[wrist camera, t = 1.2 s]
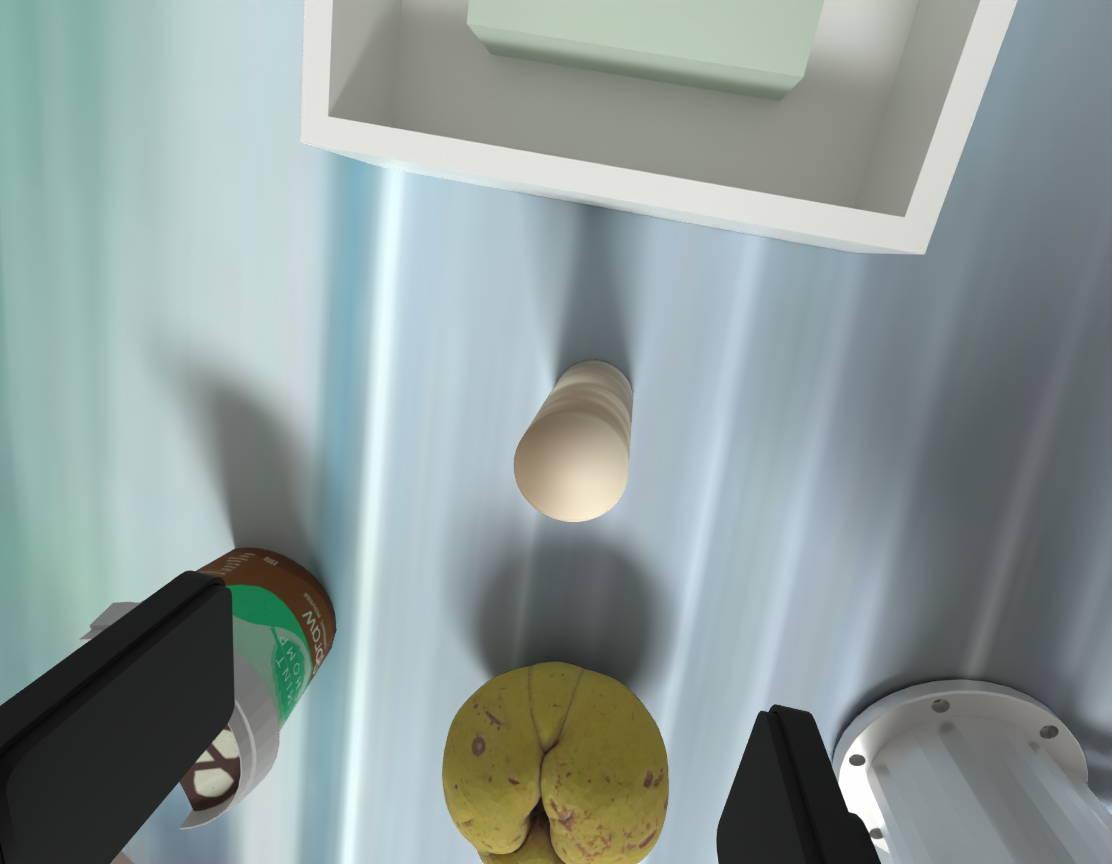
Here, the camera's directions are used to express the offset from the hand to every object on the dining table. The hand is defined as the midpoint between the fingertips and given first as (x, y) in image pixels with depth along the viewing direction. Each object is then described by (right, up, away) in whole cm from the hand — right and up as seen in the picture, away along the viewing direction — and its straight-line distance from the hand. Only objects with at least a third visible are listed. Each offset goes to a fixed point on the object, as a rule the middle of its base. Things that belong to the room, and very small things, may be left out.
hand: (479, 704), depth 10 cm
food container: (-14, -6, +26) cm, 31 cm away
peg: (+3, +6, +19) cm, 21 cm away
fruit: (+2, -12, +26) cm, 28 cm away
